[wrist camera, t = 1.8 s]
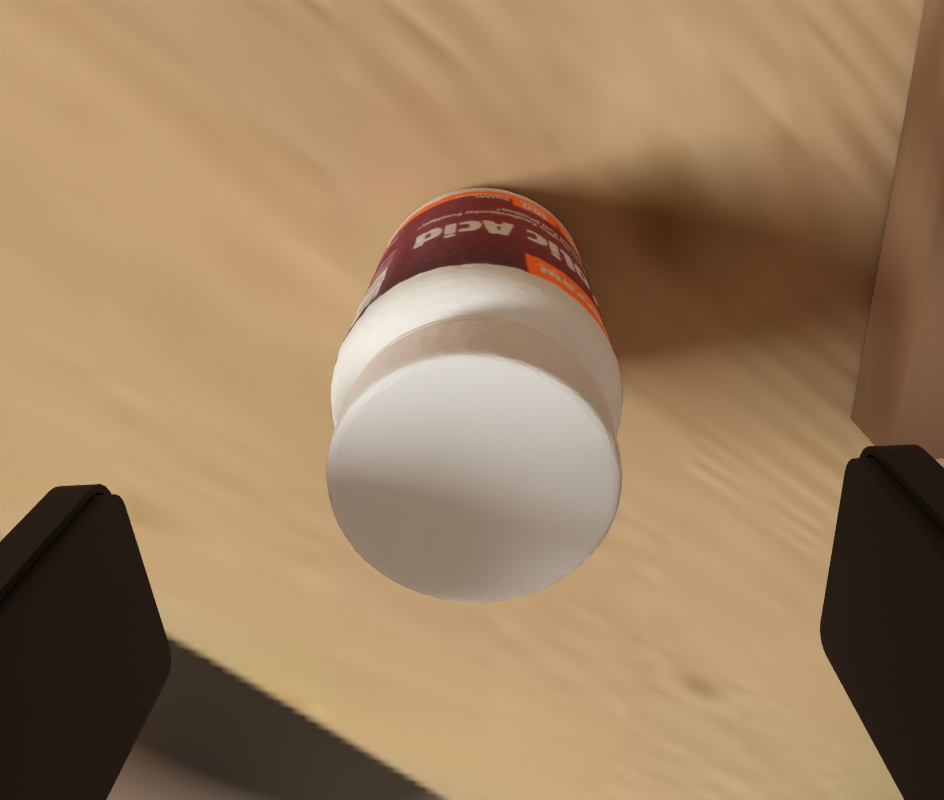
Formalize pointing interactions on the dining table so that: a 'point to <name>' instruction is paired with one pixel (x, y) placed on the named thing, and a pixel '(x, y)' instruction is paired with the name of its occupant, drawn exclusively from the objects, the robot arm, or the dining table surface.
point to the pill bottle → (476, 405)
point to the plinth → (911, 272)
